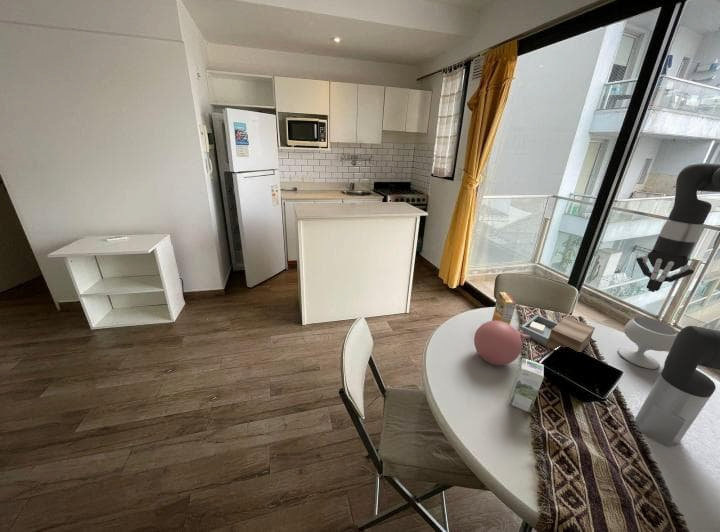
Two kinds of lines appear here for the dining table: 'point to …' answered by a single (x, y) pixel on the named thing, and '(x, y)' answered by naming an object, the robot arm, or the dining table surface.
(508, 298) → the candy box
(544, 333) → the box
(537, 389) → the syrup box
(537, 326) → the tile
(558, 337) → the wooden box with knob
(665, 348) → the chalice
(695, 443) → the dining table surface
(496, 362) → the pink egg-shaped ball
